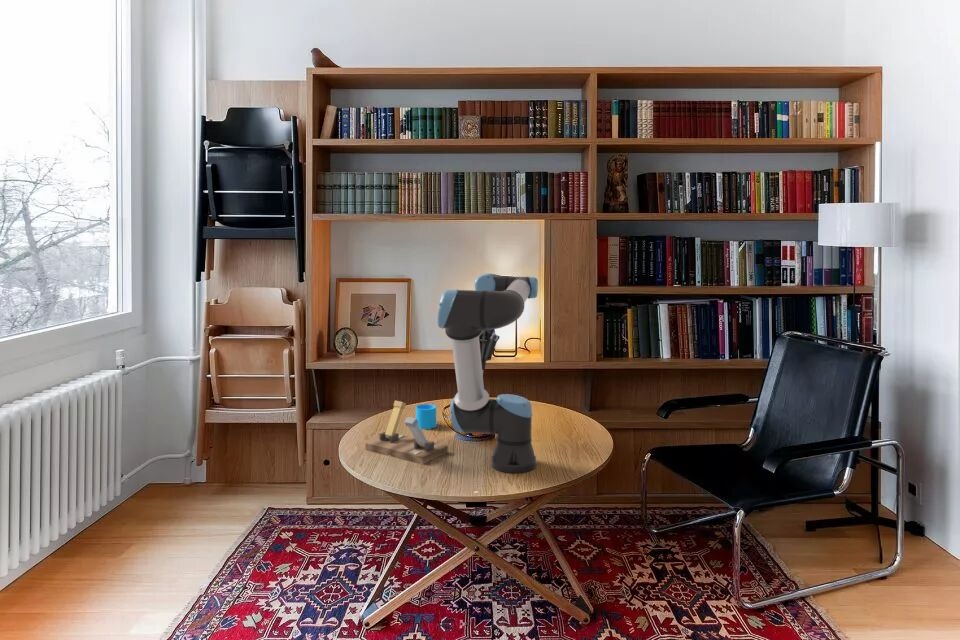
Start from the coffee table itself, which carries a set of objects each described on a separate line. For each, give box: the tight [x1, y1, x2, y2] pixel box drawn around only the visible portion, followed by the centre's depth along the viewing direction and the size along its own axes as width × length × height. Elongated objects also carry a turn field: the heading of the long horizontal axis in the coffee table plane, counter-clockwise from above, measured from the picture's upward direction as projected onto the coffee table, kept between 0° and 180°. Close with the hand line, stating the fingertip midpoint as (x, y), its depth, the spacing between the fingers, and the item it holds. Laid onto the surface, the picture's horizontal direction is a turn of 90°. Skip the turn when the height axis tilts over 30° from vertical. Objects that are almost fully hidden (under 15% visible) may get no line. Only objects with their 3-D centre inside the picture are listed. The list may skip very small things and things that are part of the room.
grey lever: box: [403, 416, 428, 447], centre depth 223 cm, size 4×2×14 cm
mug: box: [415, 403, 437, 430], centre depth 262 cm, size 12×8×8 cm
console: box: [365, 431, 449, 465], centre depth 231 cm, size 26×14×5 cm, turn 57°
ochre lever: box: [385, 400, 407, 439], centre depth 237 cm, size 4×2×14 cm, turn 57°
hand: (478, 378), depth 241 cm, fingers closed
